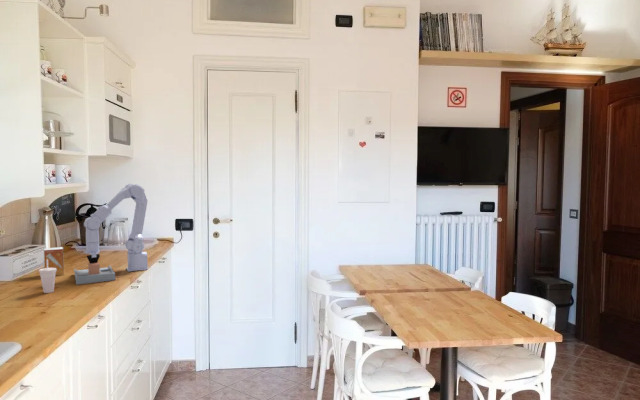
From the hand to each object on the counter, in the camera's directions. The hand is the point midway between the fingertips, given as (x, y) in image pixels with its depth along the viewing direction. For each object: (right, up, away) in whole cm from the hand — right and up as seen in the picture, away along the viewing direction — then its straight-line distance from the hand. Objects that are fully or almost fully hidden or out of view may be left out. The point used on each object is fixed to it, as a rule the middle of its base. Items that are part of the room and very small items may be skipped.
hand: (93, 269), depth 214 cm
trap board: (+2, -3, -3) cm, 5 cm away
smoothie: (-4, -5, -28) cm, 29 cm away
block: (+2, -1, -3) cm, 4 cm away
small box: (-20, -3, +2) cm, 21 cm away
